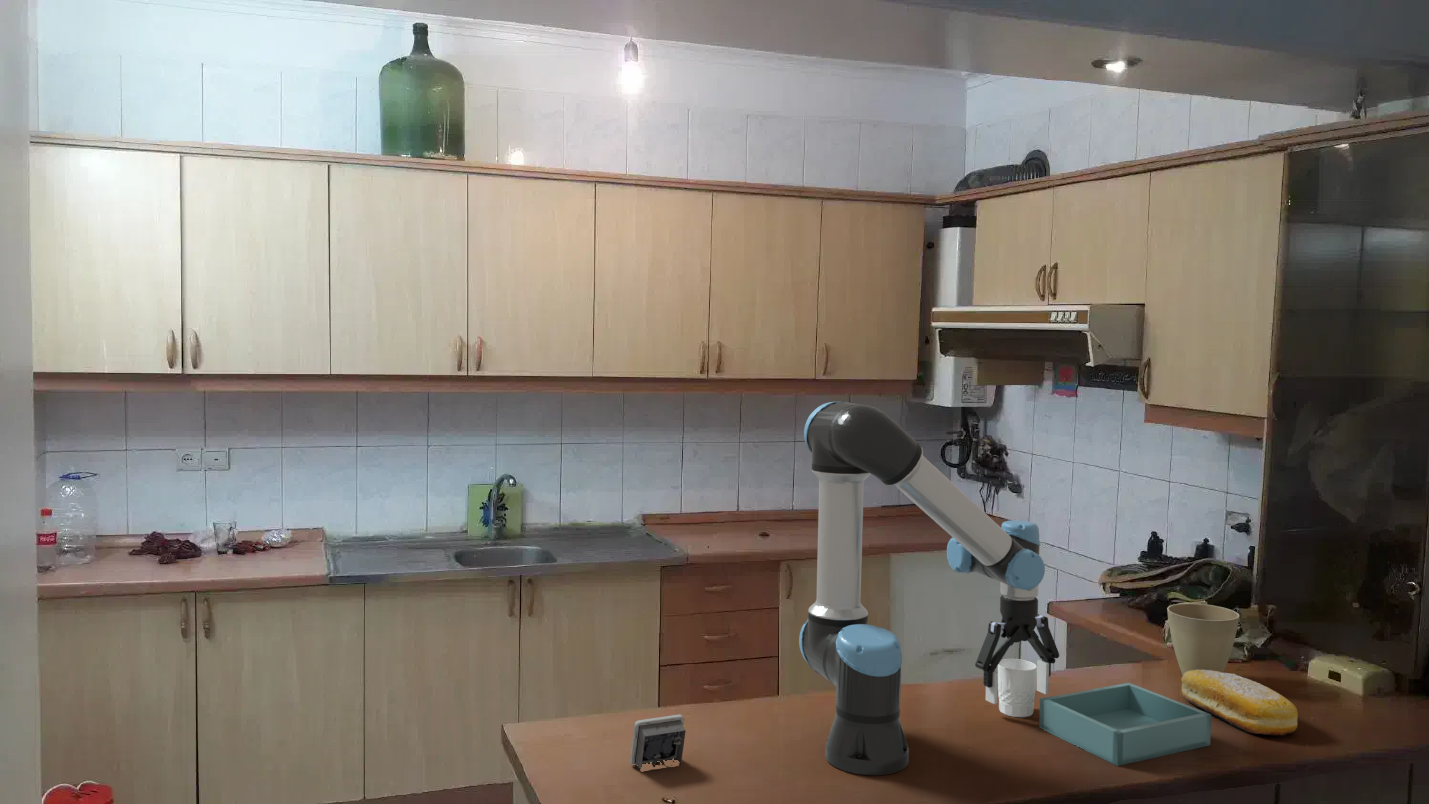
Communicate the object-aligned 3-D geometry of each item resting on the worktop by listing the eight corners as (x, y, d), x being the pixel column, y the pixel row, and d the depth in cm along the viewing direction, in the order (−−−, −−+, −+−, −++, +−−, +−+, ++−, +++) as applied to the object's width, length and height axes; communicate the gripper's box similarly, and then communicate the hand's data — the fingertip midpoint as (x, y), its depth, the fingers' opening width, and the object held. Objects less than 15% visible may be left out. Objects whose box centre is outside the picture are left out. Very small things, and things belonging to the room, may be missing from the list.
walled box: (1117, 766, 186) (1118, 733, 185) (1039, 728, 204) (1040, 698, 203) (1210, 745, 196) (1211, 714, 196) (1127, 710, 214) (1128, 682, 214)
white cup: (1043, 715, 211) (1045, 668, 210) (1012, 720, 208) (1013, 672, 207) (1019, 703, 218) (1020, 657, 217) (988, 707, 215) (989, 660, 214)
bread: (1256, 744, 197) (1258, 703, 197) (1164, 697, 223) (1165, 661, 222) (1313, 738, 200) (1315, 698, 200) (1216, 693, 226) (1218, 657, 226)
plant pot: (1183, 665, 245) (1186, 599, 244) (1248, 681, 233) (1251, 612, 232) (1152, 678, 235) (1154, 609, 234) (1218, 695, 224) (1221, 623, 223)
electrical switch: (677, 757, 188) (679, 709, 186) (688, 771, 183) (690, 722, 182) (629, 765, 184) (630, 716, 183) (638, 779, 179) (640, 729, 178)
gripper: (983, 607, 203) (981, 712, 204) (1078, 593, 213) (1076, 693, 215) (958, 598, 210) (957, 700, 211) (1052, 586, 220) (1050, 682, 221)
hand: (1017, 697), depth 213 cm, fingers open, 13 cm apart
